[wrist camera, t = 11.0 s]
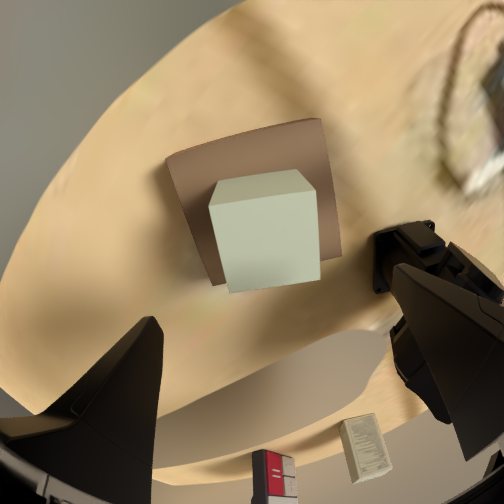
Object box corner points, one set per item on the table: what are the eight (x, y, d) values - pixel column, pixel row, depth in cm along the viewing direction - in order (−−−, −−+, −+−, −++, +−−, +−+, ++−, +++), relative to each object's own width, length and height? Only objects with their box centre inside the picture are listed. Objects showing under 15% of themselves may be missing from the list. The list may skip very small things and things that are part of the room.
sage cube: (303, 239, 19) (320, 279, 15) (232, 249, 19) (229, 293, 15) (296, 169, 17) (315, 190, 12) (218, 180, 17) (208, 206, 12)
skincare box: (338, 428, 40) (350, 485, 29) (343, 418, 38) (357, 479, 27) (369, 422, 40) (384, 475, 29) (376, 411, 38) (393, 468, 27)
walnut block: (331, 238, 22) (342, 255, 20) (216, 265, 23) (212, 286, 21) (309, 117, 18) (320, 118, 15) (176, 152, 19) (165, 158, 16)
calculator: (296, 457, 47) (302, 513, 34) (280, 461, 48) (284, 516, 35) (266, 447, 43) (270, 513, 30) (249, 452, 44) (251, 515, 31)
